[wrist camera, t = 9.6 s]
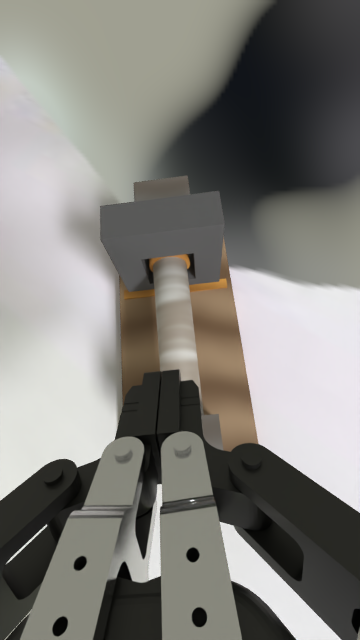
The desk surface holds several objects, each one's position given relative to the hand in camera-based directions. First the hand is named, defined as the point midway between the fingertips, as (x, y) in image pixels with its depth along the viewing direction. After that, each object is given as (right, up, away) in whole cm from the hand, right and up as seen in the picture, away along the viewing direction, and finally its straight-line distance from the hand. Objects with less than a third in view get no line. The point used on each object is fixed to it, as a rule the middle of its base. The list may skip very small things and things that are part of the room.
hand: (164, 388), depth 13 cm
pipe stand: (+1, +2, +19) cm, 20 cm away
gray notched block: (0, +8, +18) cm, 19 cm away
